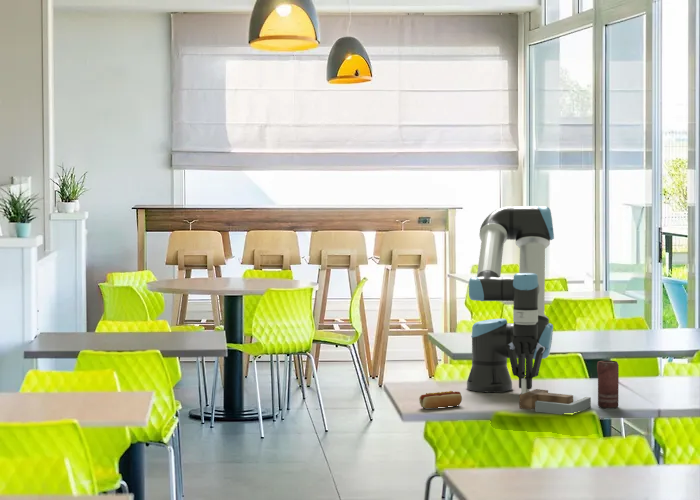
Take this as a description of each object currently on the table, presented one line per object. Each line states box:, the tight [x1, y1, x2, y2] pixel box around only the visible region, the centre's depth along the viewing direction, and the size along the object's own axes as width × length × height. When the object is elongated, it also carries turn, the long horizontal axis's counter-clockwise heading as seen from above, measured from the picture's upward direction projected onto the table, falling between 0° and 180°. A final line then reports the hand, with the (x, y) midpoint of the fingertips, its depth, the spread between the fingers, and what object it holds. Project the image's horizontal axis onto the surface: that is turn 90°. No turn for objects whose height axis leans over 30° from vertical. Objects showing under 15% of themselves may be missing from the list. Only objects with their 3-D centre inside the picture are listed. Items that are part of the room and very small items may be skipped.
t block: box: [519, 388, 574, 410], centre depth 326 cm, size 14×12×4 cm
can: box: [596, 359, 620, 409], centre depth 325 cm, size 6×6×14 cm
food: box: [419, 390, 463, 409], centre depth 327 cm, size 14×6×5 cm, turn 115°
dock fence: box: [534, 396, 592, 415], centre depth 322 cm, size 12×15×3 cm
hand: (525, 399), depth 330 cm, fingers closed
